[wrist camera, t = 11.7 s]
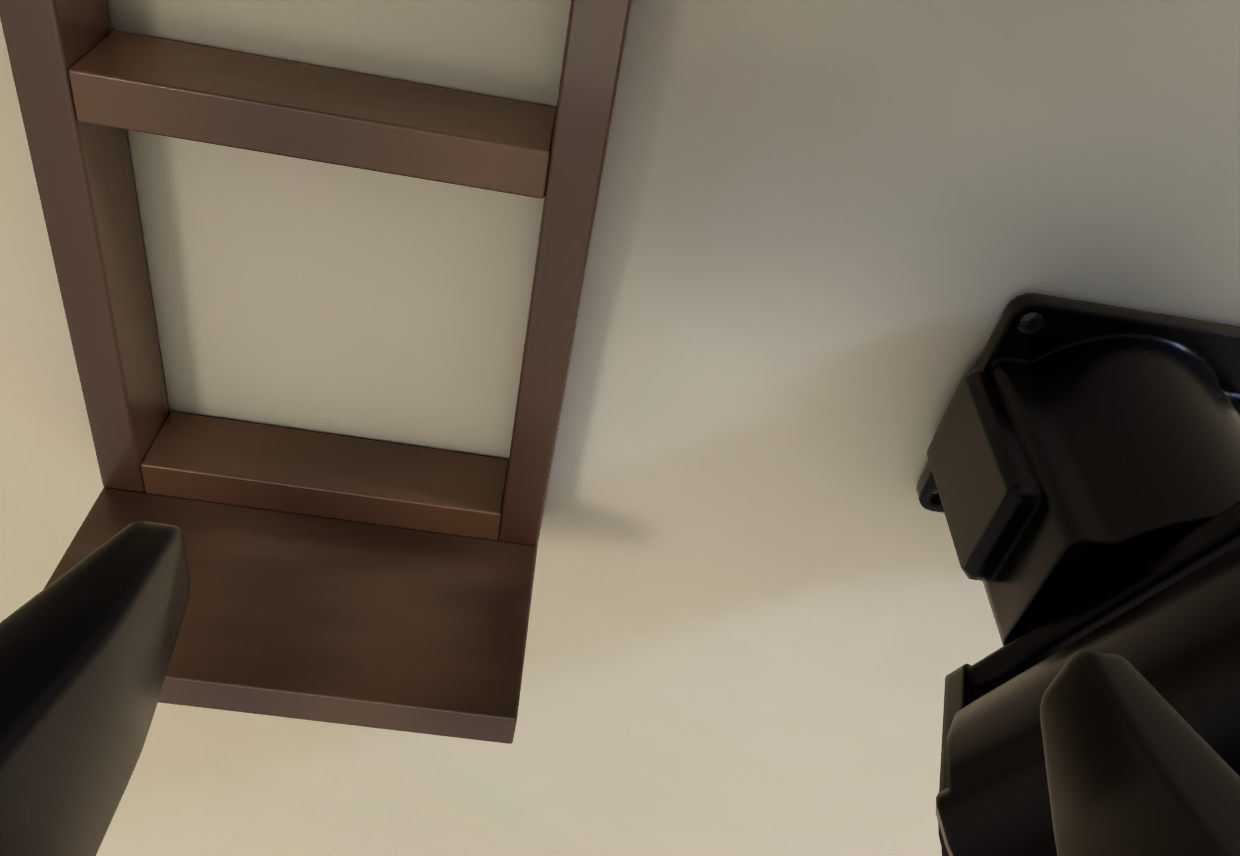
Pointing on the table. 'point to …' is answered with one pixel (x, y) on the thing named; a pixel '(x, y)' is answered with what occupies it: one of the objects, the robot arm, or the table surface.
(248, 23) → the table surface
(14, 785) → the robot arm
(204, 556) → the cup stand
